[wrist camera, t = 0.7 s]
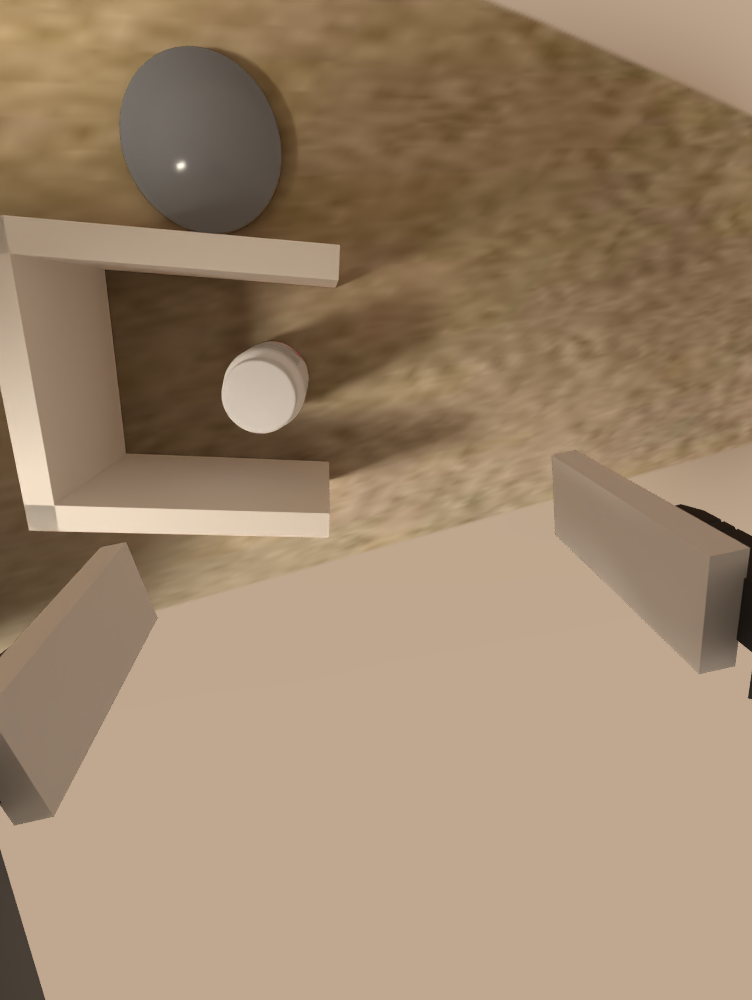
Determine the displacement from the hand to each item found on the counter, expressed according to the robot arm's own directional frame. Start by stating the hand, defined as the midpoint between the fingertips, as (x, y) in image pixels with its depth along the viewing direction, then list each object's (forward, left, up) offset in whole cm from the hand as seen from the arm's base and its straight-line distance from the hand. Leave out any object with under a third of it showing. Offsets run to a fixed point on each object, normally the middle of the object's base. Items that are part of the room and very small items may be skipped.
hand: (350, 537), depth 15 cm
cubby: (-8, +2, -22) cm, 24 cm away
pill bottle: (-4, +2, -22) cm, 23 cm away
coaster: (-8, +15, -22) cm, 28 cm away
